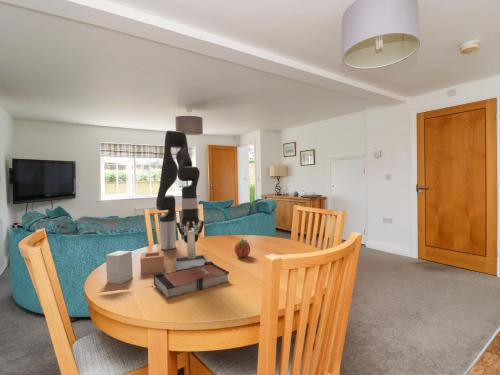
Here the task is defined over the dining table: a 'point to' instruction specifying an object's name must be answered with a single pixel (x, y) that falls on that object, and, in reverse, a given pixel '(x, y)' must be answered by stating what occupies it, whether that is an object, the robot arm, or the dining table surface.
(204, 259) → the tray
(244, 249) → the fruit
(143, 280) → the dining table surface
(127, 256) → the supplement box
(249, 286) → the dining table surface
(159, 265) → the square hole frame
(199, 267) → the book
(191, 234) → the peg
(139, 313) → the dining table surface
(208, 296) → the dining table surface
